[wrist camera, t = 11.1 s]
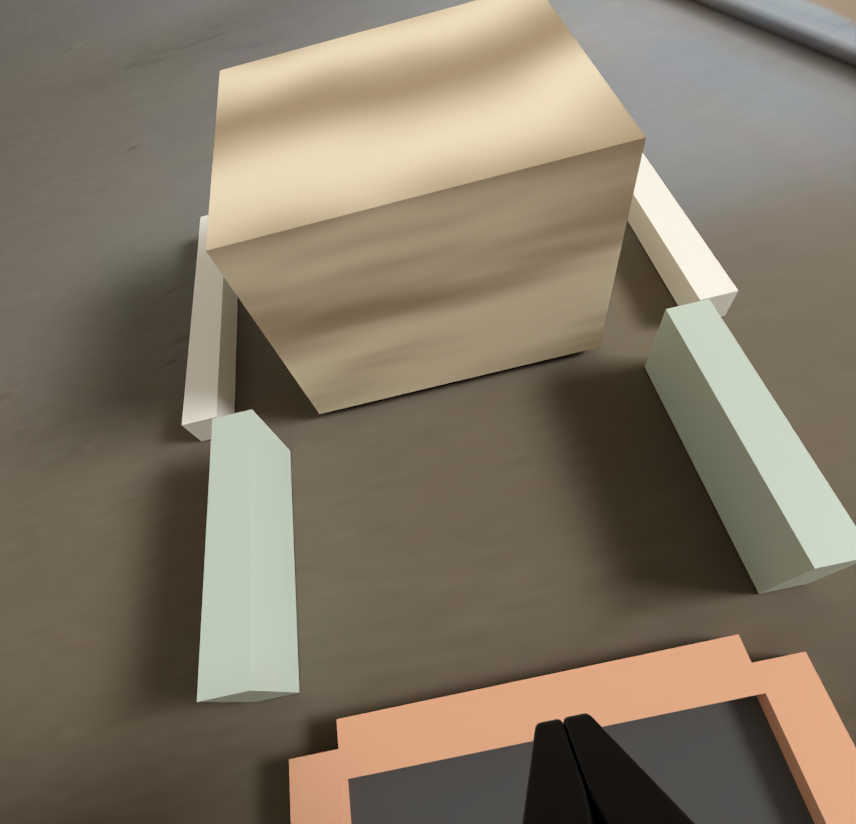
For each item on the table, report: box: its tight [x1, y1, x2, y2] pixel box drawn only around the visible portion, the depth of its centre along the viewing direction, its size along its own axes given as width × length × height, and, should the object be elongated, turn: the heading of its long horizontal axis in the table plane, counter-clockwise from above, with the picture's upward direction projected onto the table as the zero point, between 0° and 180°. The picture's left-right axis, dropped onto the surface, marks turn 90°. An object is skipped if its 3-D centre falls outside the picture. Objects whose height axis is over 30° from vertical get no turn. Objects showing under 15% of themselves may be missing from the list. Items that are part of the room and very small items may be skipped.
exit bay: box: [182, 153, 738, 441], centre depth 24 cm, size 14×23×2 cm, turn 100°
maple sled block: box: [206, 0, 646, 414], centre depth 20 cm, size 10×12×9 cm
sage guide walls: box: [197, 299, 856, 702], centre depth 17 cm, size 9×18×4 cm, turn 100°
